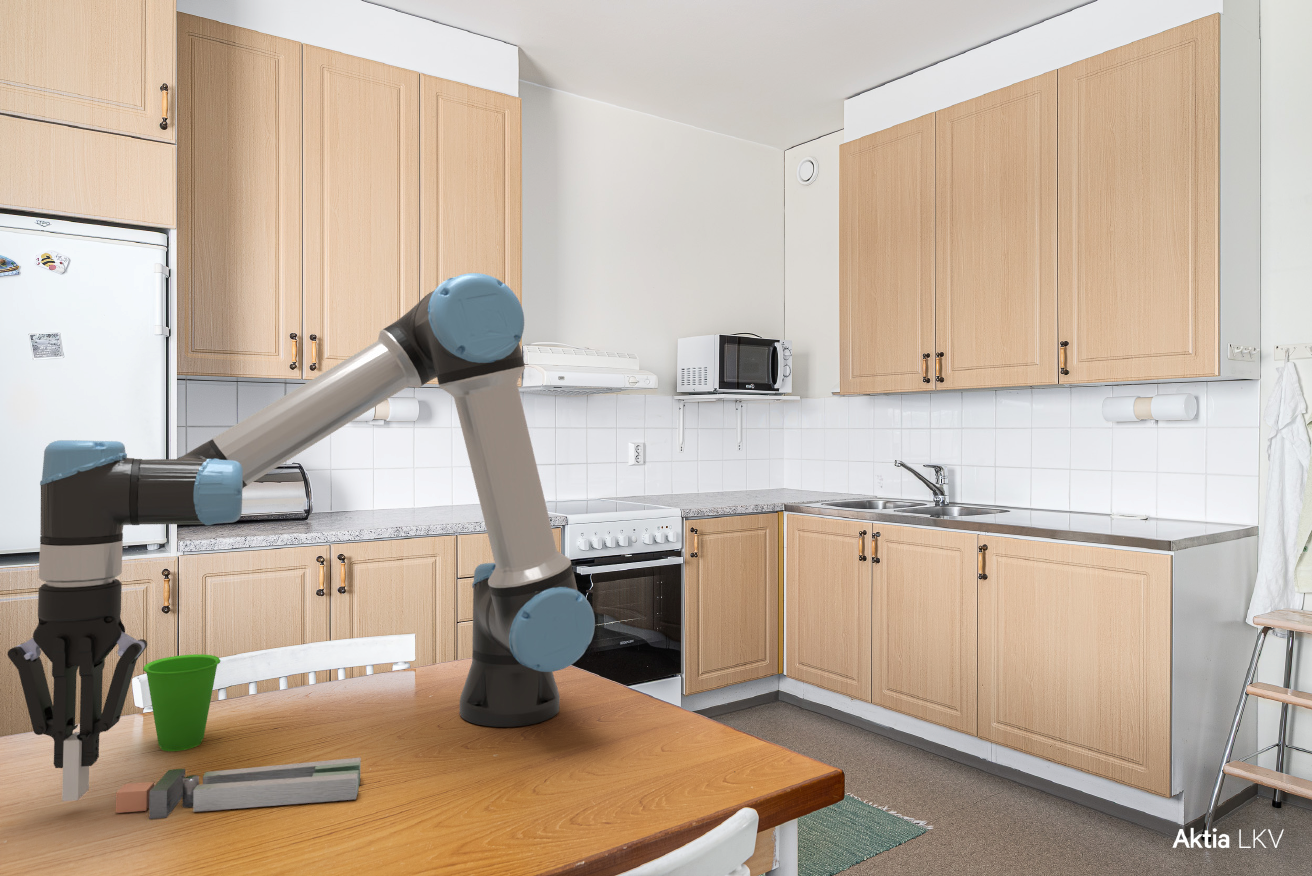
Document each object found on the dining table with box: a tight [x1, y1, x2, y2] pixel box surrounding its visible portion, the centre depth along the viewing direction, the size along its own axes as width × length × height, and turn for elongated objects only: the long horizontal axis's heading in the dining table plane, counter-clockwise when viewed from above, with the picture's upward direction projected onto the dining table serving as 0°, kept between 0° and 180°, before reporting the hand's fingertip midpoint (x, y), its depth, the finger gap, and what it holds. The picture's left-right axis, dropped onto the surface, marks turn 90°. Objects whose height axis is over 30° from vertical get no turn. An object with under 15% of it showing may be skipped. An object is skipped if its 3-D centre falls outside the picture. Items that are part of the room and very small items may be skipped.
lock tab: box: [115, 781, 156, 814], centre depth 92 cm, size 3×2×2 cm
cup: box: [143, 653, 221, 752], centre depth 111 cm, size 9×9×11 cm
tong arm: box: [202, 757, 362, 786], centre depth 98 cm, size 17×2×2 cm, turn 107°
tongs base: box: [148, 768, 360, 820], centre depth 95 cm, size 21×6×3 cm, turn 103°
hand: (75, 795), depth 91 cm, fingers closed
